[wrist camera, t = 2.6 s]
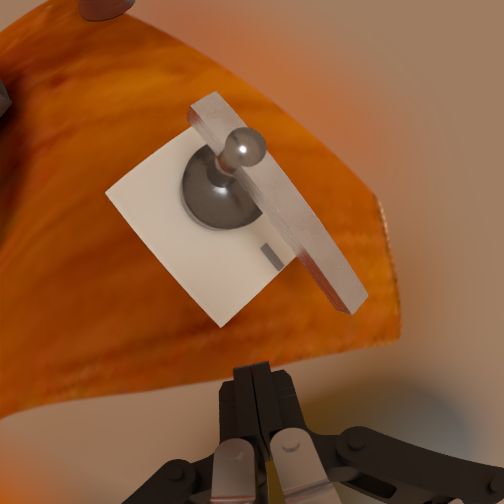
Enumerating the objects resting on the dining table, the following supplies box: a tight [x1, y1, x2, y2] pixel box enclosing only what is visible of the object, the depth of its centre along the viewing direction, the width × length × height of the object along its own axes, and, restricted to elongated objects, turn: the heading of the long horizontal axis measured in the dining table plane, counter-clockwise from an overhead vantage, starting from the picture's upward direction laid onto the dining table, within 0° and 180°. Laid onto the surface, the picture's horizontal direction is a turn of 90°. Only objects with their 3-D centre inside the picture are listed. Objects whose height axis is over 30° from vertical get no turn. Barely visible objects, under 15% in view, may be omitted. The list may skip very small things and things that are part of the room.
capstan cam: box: [180, 91, 369, 315], centre depth 26 cm, size 21×9×12 cm, turn 40°
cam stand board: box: [105, 110, 322, 328], centre depth 31 cm, size 20×18×1 cm
